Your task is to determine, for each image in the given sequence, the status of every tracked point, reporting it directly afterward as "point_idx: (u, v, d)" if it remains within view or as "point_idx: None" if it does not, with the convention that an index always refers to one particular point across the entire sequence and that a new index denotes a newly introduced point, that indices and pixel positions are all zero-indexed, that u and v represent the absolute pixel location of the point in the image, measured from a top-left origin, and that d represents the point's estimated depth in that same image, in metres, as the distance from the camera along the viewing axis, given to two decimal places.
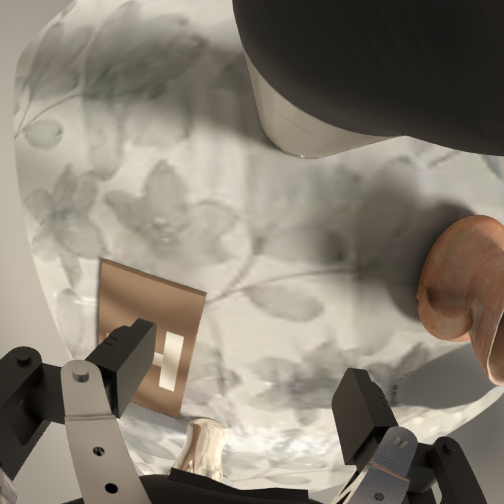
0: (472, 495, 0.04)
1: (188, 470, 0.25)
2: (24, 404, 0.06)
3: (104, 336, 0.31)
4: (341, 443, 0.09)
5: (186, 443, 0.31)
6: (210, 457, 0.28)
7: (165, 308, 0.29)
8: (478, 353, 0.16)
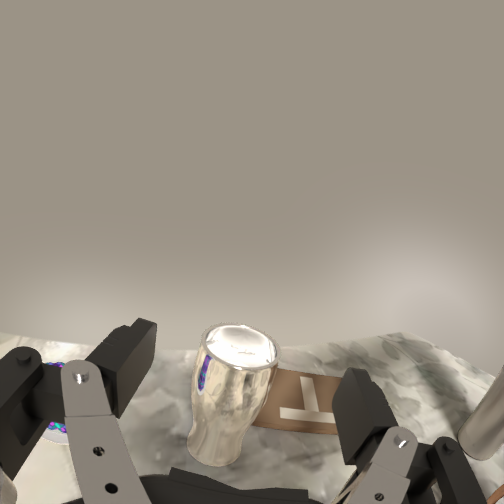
0: (472, 495, 0.04)
1: None
2: (24, 404, 0.06)
3: (307, 376, 0.41)
4: (341, 443, 0.09)
5: None
6: None
7: None
8: None
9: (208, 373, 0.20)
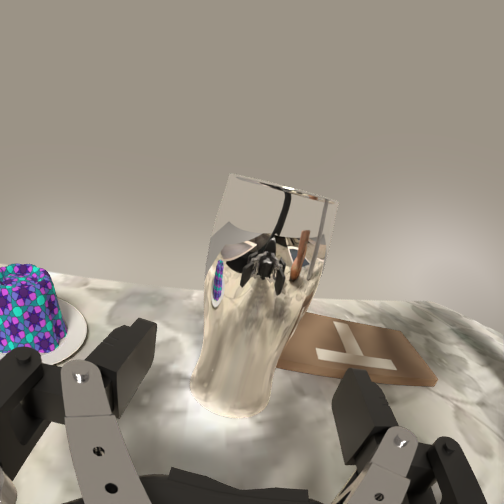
0: (472, 495, 0.04)
1: None
2: (24, 404, 0.06)
3: (341, 322, 0.35)
4: (341, 443, 0.09)
5: None
6: None
7: (407, 359, 0.28)
8: None
9: (239, 209, 0.14)
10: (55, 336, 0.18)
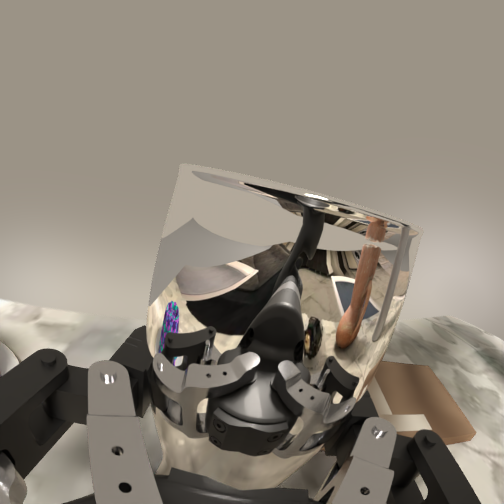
0: (459, 487, 0.04)
1: None
2: (45, 405, 0.06)
3: None
4: None
5: None
6: None
7: (441, 409, 0.19)
8: None
9: (191, 258, 0.05)
10: None
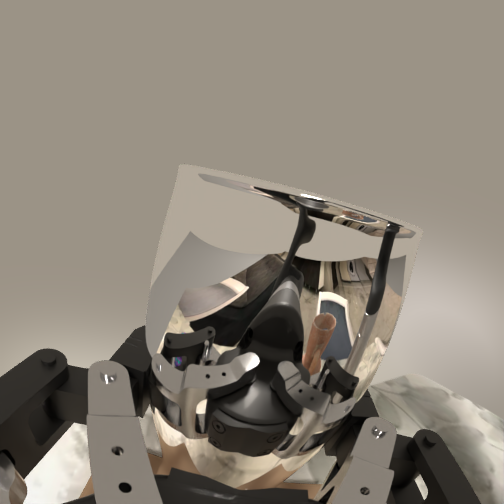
0: (459, 487, 0.04)
1: None
2: (45, 405, 0.06)
3: None
4: None
5: None
6: None
7: None
8: None
9: (189, 259, 0.05)
10: None
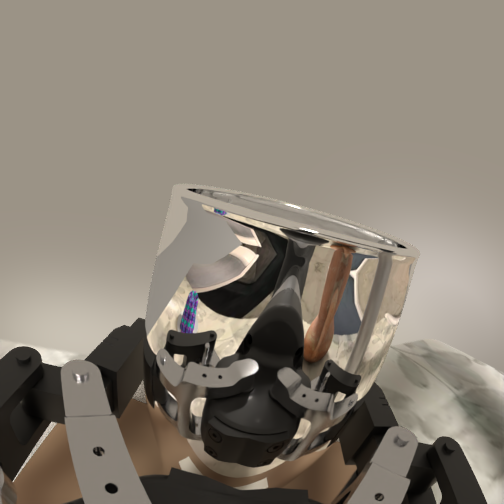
0: (472, 495, 0.04)
1: None
2: (24, 404, 0.06)
3: None
4: (341, 443, 0.09)
5: None
6: None
7: None
8: None
9: (184, 287, 0.05)
10: None
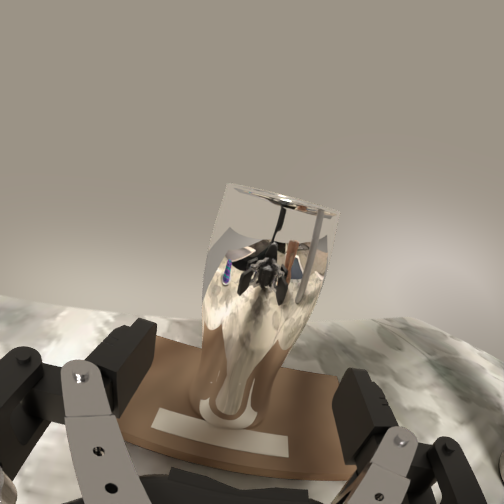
0: (472, 495, 0.04)
1: None
2: (24, 404, 0.06)
3: None
4: (341, 443, 0.09)
5: None
6: None
7: (322, 434, 0.18)
8: None
9: (237, 223, 0.14)
10: None
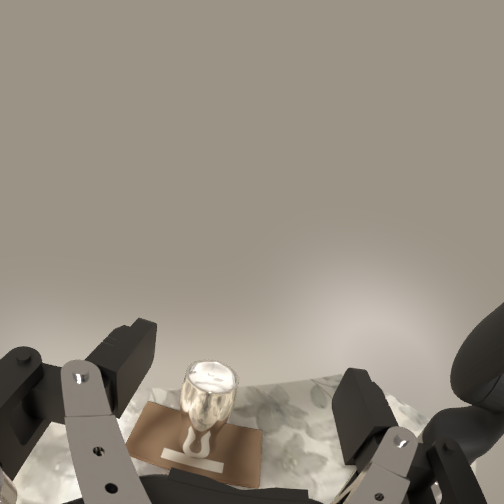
0: (472, 495, 0.04)
1: None
2: (24, 404, 0.06)
3: None
4: (341, 443, 0.09)
5: None
6: (222, 427, 0.34)
7: (242, 463, 0.34)
8: None
9: (190, 394, 0.30)
10: None
